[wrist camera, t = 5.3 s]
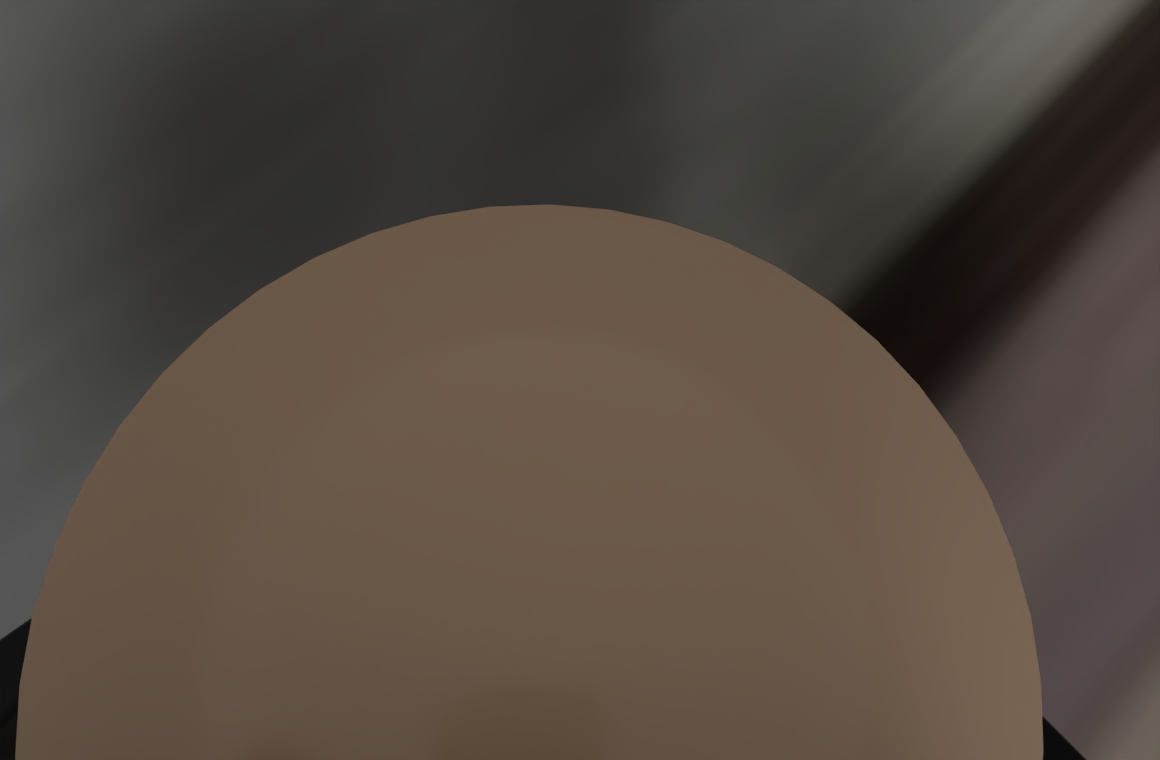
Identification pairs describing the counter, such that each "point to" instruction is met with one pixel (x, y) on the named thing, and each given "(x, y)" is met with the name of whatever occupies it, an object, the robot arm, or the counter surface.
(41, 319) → the counter surface
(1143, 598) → the counter surface
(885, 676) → the jar
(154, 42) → the counter surface
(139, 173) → the counter surface
